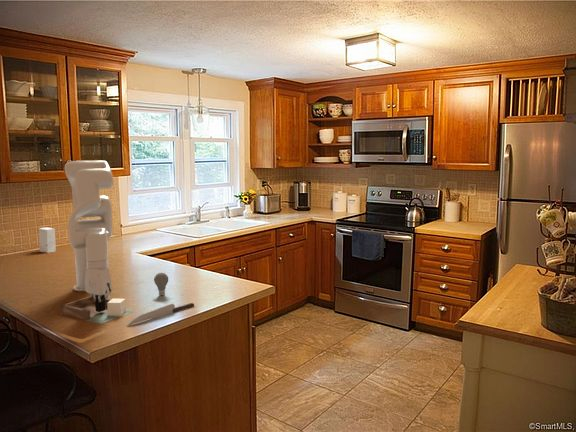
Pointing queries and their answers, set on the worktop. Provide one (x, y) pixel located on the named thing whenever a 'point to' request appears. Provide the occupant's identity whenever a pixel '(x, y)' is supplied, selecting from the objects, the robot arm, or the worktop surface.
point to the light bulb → (161, 282)
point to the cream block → (116, 307)
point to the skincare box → (47, 240)
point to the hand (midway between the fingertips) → (100, 310)
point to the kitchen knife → (159, 312)
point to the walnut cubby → (89, 310)
